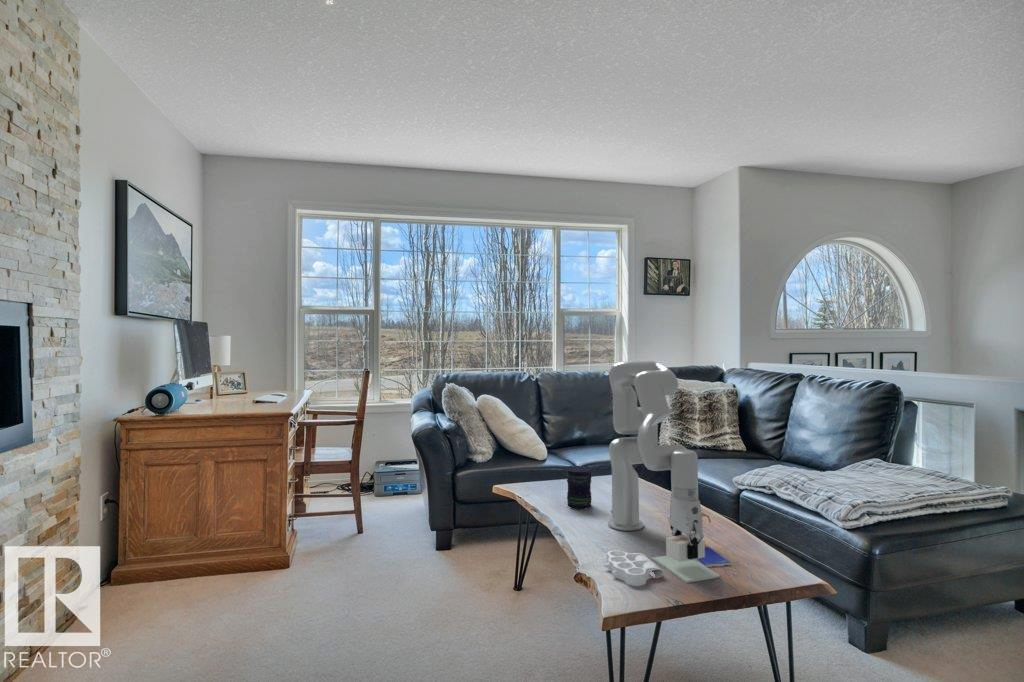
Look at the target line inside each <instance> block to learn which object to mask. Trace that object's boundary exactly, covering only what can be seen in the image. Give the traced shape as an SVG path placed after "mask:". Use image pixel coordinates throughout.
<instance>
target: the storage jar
mask: <svg viewBox="0 0 1024 682" xmlns="http://www.w3.org/2000/svg"><path fill="white" fill-rule="evenodd" d="M566 471H567V472H566V481H567V492H566V493H567V495H566V500H567V501H566V502H567V504H566V505H568V506H569V507H571V508H570V509H572V508H575V509H574V510H586V509H585V508H588V509H590V508H591V507H592V492H591V485H592V469H591V468H590V467H588V466H582V465H581V466H580V465H579V466H578V465H577V466H570V467H567V468H566ZM568 506H567V507H568ZM569 507H568V508H569ZM589 507H590V508H589Z"/></svg>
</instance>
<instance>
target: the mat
mask: <svg viewBox="0 0 1024 682" xmlns="http://www.w3.org/2000/svg"><path fill="white" fill-rule="evenodd" d="M652 560H653V561H654V560H655V563H657V562H658V563H657V564H659V565H660V564H661V565H660V566H661V567H663V568H664V567H665V568H664V569H666V570H667V571H669V572H670V573H672V574H674V575H675V576H676V577H678V579H680V580H682V581H683V582H685V583H686V584H688V583H694V582H695V583H696V582H700V581H708V580H713V579H718V578H719V579H720V578H721V575H720V574H719V573H717V572H715V571H714V570H712V569H711V568H710V567H706V566H704V565H703V564H701V563H699V562H698V561H697V560H696V559H693V560H688V561H682V562H679V561H677V560H675V559H673V558H671V557H670V556H668V555H663V556H662V555H660V556H655V557H652Z"/></svg>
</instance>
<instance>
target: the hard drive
mask: <svg viewBox="0 0 1024 682" xmlns="http://www.w3.org/2000/svg"><path fill="white" fill-rule="evenodd" d="M695 560H696V561H698V562H700V563H701V564H703V565H704V566H706V567H707V568H713V567H712V566H716V567H725V566H724V565H730V566H731V565H732V564H731V562H730V560H728V559H726V558H725V557H724V556H722V555H721V554H719V553H718V552H717V551H715V550H714V549H713V548H711V547H709V546H705V557H703V558H698V559H695Z"/></svg>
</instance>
